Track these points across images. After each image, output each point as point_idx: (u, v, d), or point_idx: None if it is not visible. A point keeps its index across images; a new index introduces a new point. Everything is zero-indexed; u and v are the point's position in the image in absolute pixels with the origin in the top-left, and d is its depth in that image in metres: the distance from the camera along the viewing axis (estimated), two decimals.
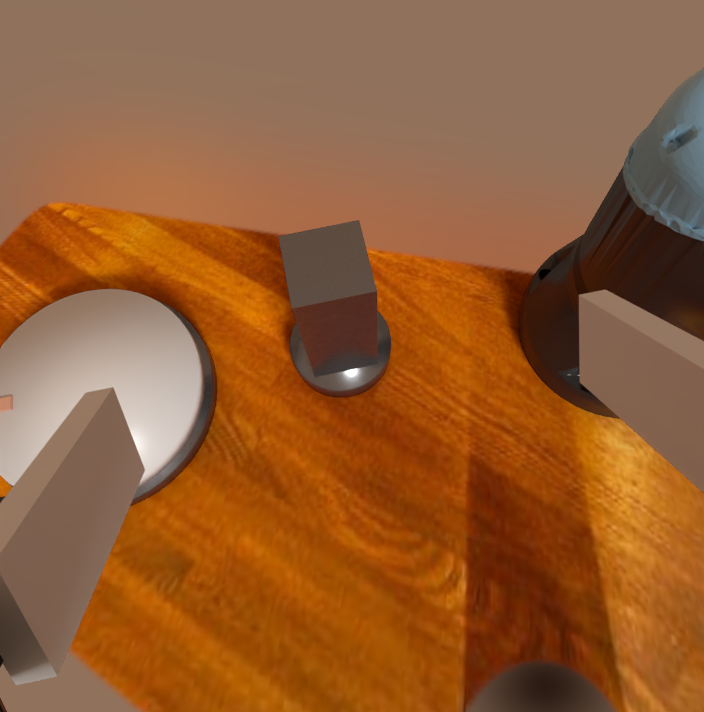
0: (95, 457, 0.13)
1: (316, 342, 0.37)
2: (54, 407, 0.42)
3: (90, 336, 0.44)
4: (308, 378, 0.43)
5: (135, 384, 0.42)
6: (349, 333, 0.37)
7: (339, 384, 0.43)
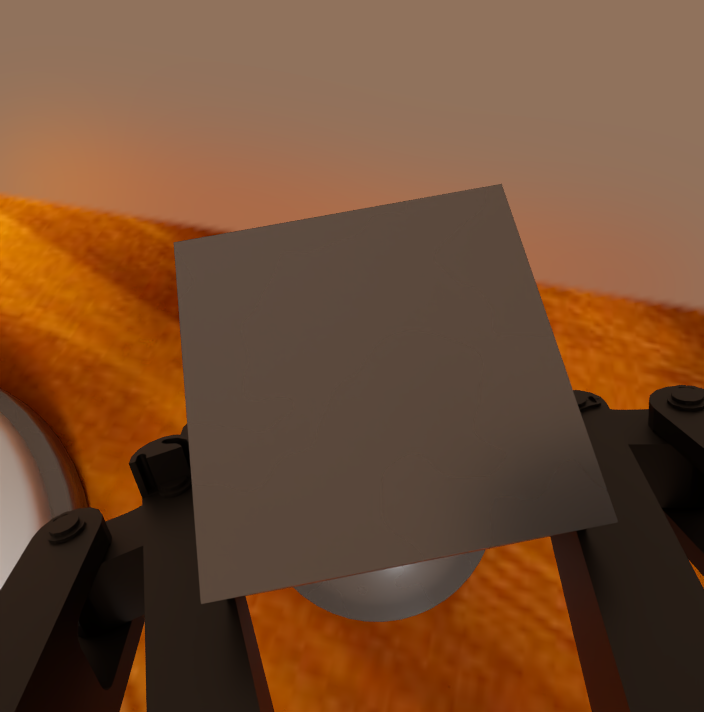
0: None
1: None
2: None
3: None
4: (297, 586, 0.18)
5: None
6: None
7: (372, 606, 0.17)
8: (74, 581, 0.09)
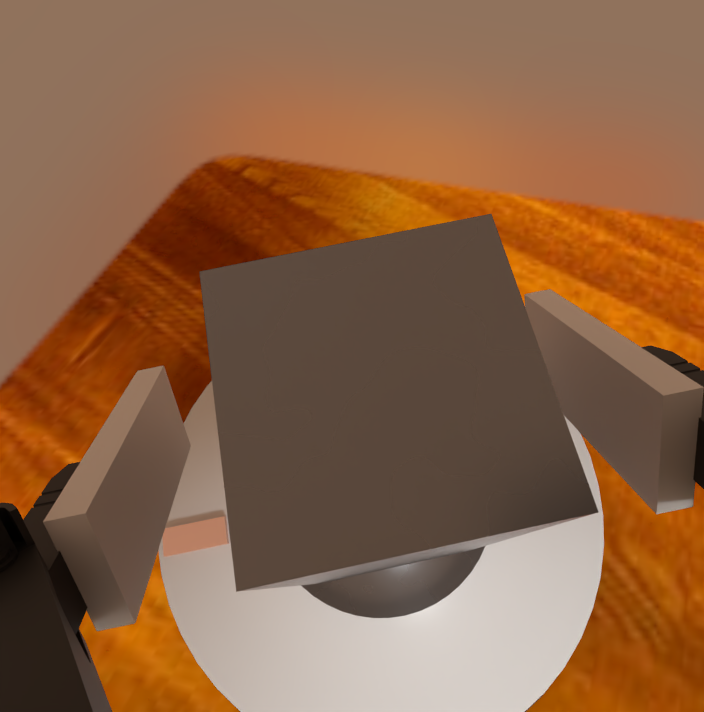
0: (153, 429, 0.14)
1: (330, 578, 0.12)
2: None
3: None
4: (306, 586, 0.19)
5: None
6: None
7: (379, 603, 0.18)
8: None
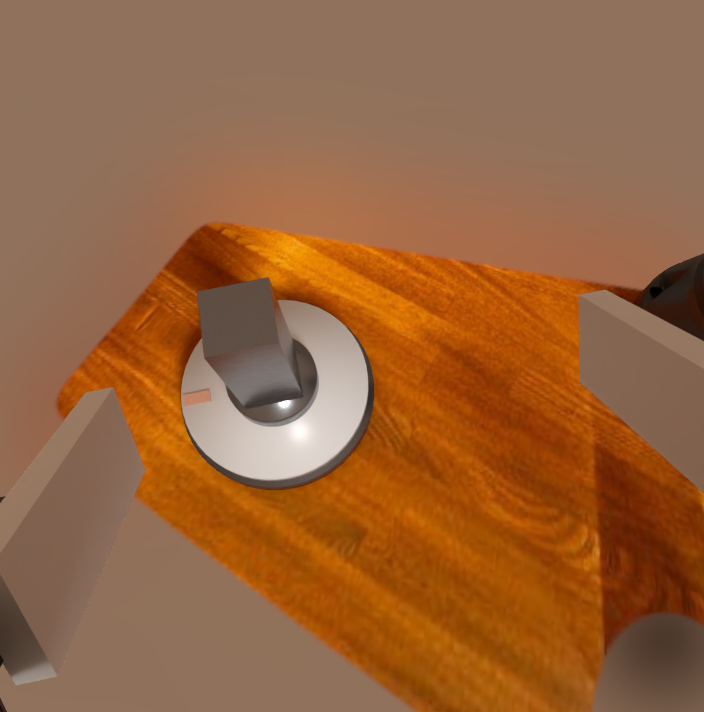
0: (95, 457, 0.13)
1: (237, 382, 0.41)
2: None
3: None
4: (240, 410, 0.47)
5: None
6: (266, 375, 0.41)
7: (268, 416, 0.47)
8: None
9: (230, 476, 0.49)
